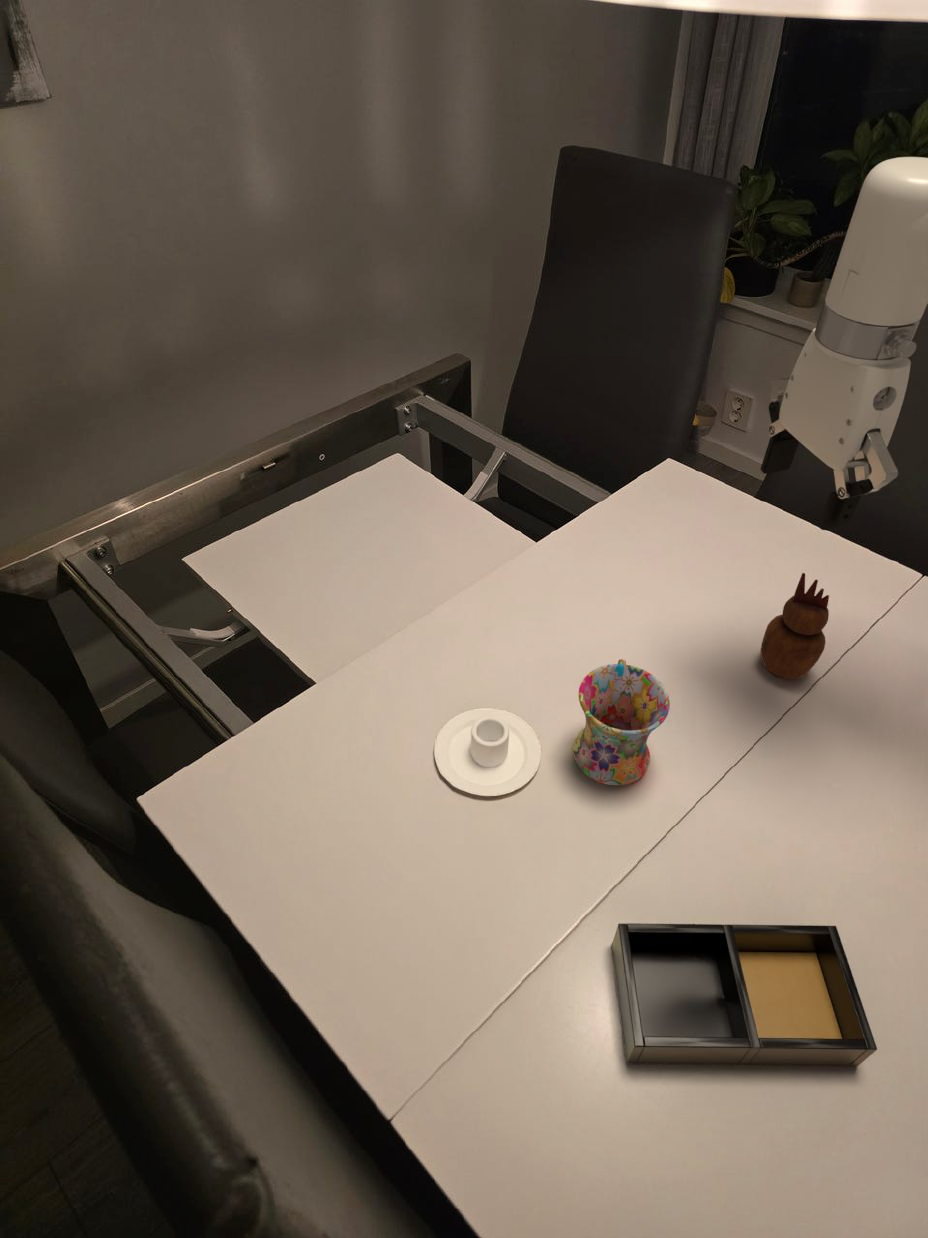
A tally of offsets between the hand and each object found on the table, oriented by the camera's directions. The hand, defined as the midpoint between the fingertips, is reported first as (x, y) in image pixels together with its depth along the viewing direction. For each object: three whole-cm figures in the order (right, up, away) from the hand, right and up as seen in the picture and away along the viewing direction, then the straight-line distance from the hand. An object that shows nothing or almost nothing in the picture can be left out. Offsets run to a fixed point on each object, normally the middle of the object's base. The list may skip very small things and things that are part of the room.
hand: (802, 496), depth 78 cm
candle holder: (-31, -27, +11) cm, 43 cm away
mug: (-17, -27, +11) cm, 34 cm away
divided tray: (-10, -46, -8) cm, 48 cm away
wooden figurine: (+6, -18, +20) cm, 28 cm away
